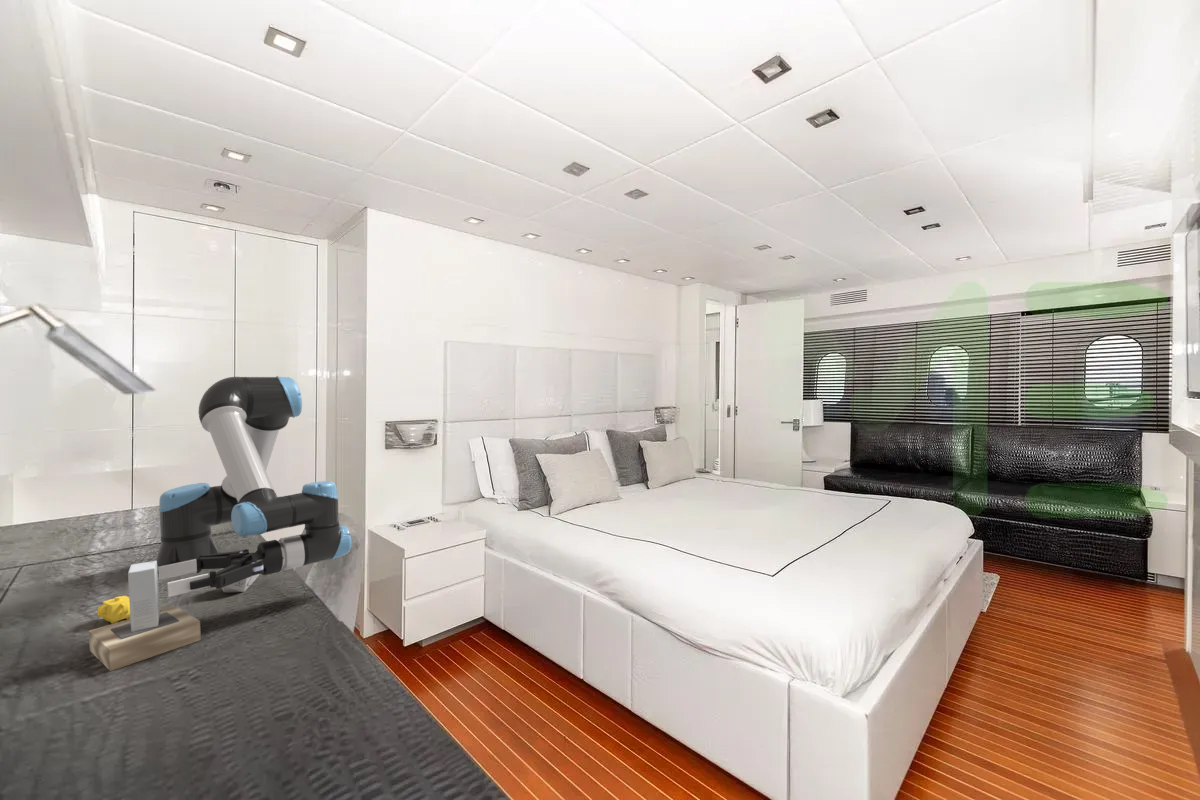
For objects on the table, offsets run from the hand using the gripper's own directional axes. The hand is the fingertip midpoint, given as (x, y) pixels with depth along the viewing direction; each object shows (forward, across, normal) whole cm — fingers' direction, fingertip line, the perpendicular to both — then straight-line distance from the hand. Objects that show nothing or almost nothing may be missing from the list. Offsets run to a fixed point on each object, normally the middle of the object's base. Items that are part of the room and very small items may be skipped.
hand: (162, 581), depth 109 cm
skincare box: (+3, 0, -8) cm, 9 cm away
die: (-17, +21, -13) cm, 30 cm away
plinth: (+3, 0, -12) cm, 13 cm away
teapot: (+7, +21, -12) cm, 25 cm away
